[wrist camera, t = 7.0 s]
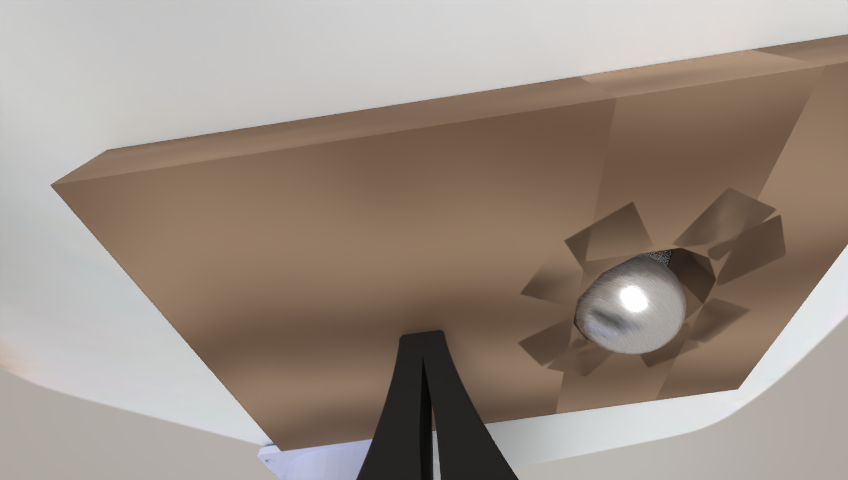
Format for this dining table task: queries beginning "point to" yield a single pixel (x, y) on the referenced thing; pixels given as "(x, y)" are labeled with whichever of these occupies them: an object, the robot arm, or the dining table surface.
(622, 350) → the ball
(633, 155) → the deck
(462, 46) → the dining table surface
